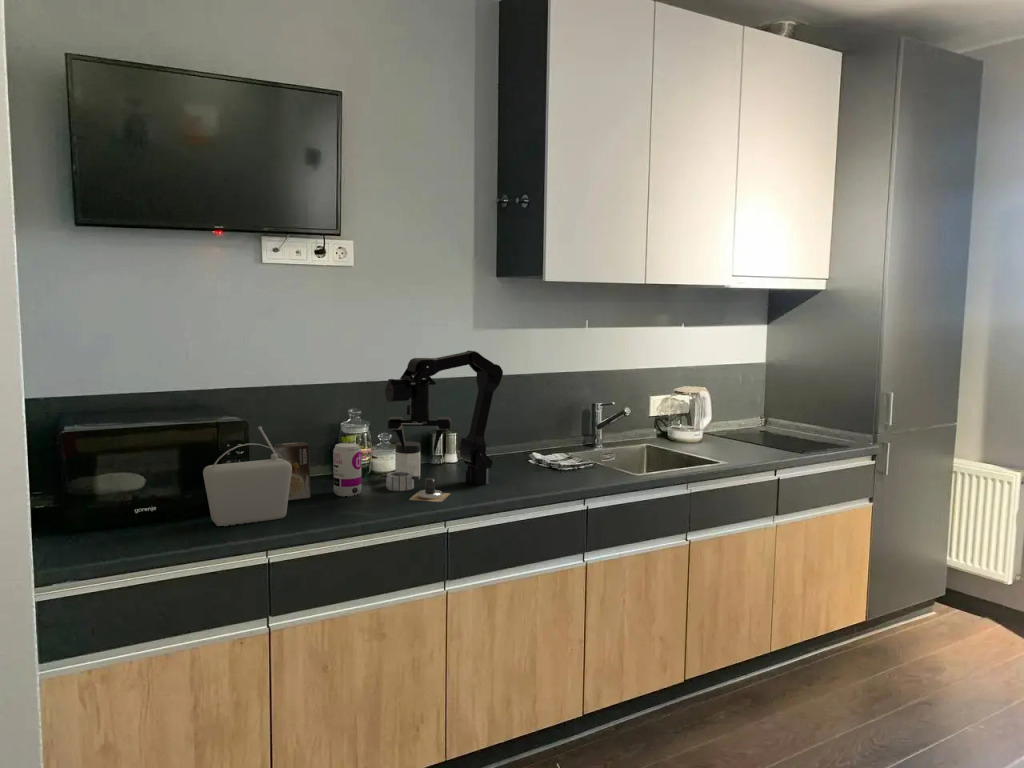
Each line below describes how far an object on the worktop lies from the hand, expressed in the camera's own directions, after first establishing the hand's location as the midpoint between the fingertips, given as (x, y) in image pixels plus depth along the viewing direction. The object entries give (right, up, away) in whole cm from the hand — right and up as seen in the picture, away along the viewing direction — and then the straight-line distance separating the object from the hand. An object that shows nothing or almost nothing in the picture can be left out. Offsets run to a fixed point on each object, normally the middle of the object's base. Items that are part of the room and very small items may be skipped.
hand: (419, 450), depth 240 cm
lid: (+4, -13, -4) cm, 14 cm away
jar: (-6, -11, +20) cm, 23 cm away
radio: (-42, -16, -28) cm, 54 cm away
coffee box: (-37, -14, -5) cm, 40 cm away
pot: (-7, -13, +6) cm, 15 cm away
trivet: (+4, -14, -4) cm, 15 cm away
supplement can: (-22, -13, 0) cm, 26 cm away
